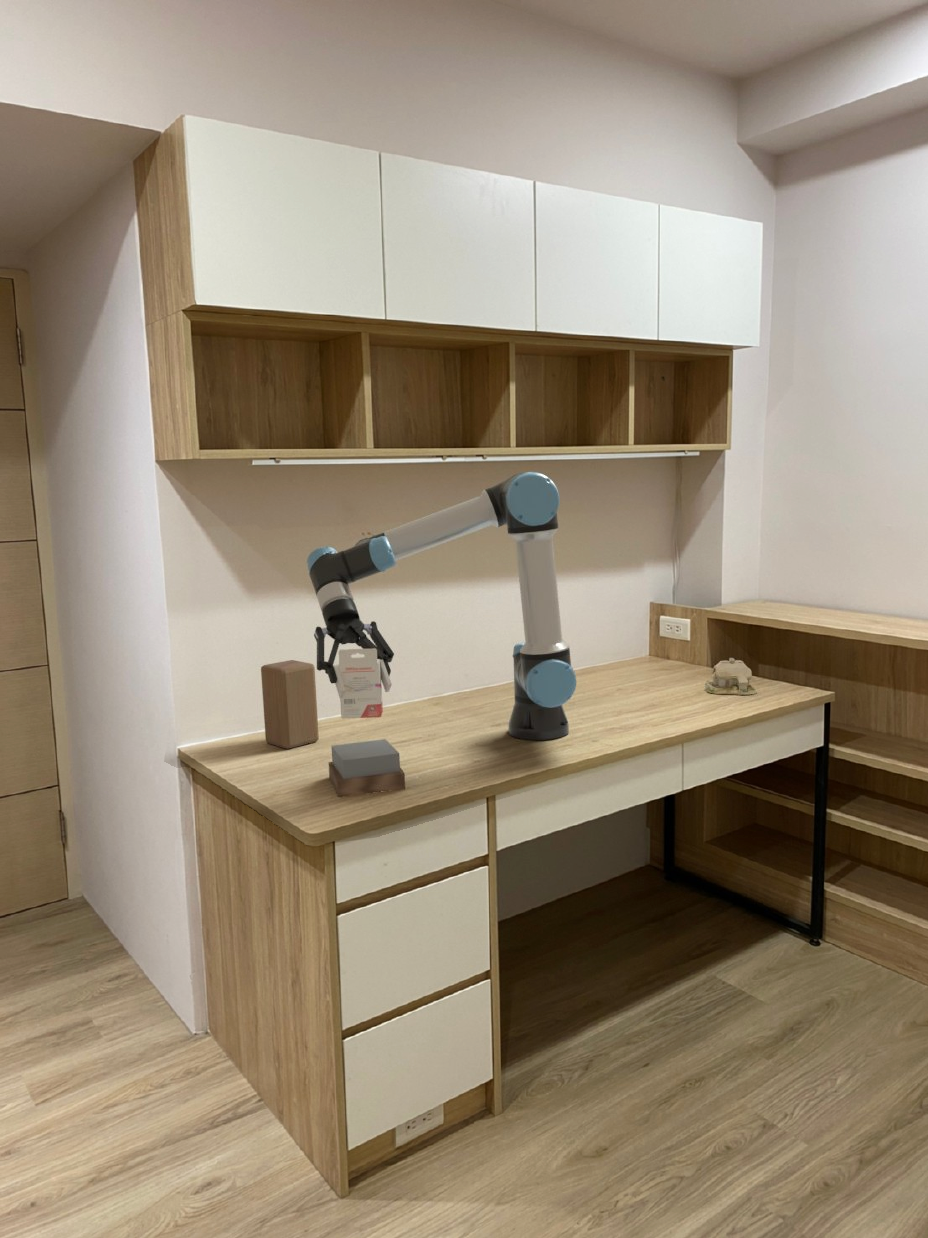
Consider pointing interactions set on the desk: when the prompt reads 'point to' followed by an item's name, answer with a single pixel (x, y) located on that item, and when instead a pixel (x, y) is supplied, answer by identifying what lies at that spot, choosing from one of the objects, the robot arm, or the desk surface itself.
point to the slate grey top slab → (365, 758)
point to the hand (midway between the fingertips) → (365, 691)
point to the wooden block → (289, 703)
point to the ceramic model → (730, 678)
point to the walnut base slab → (366, 782)
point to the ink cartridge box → (360, 684)
